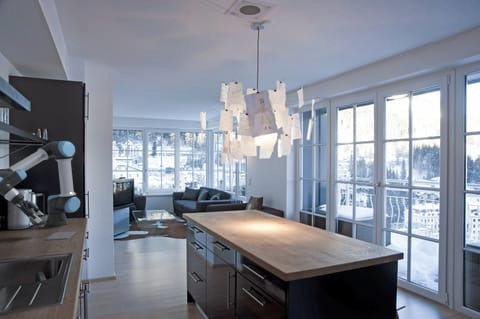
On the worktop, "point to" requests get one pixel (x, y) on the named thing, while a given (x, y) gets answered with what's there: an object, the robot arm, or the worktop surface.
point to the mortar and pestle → (41, 223)
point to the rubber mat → (60, 235)
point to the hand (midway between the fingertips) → (42, 220)
